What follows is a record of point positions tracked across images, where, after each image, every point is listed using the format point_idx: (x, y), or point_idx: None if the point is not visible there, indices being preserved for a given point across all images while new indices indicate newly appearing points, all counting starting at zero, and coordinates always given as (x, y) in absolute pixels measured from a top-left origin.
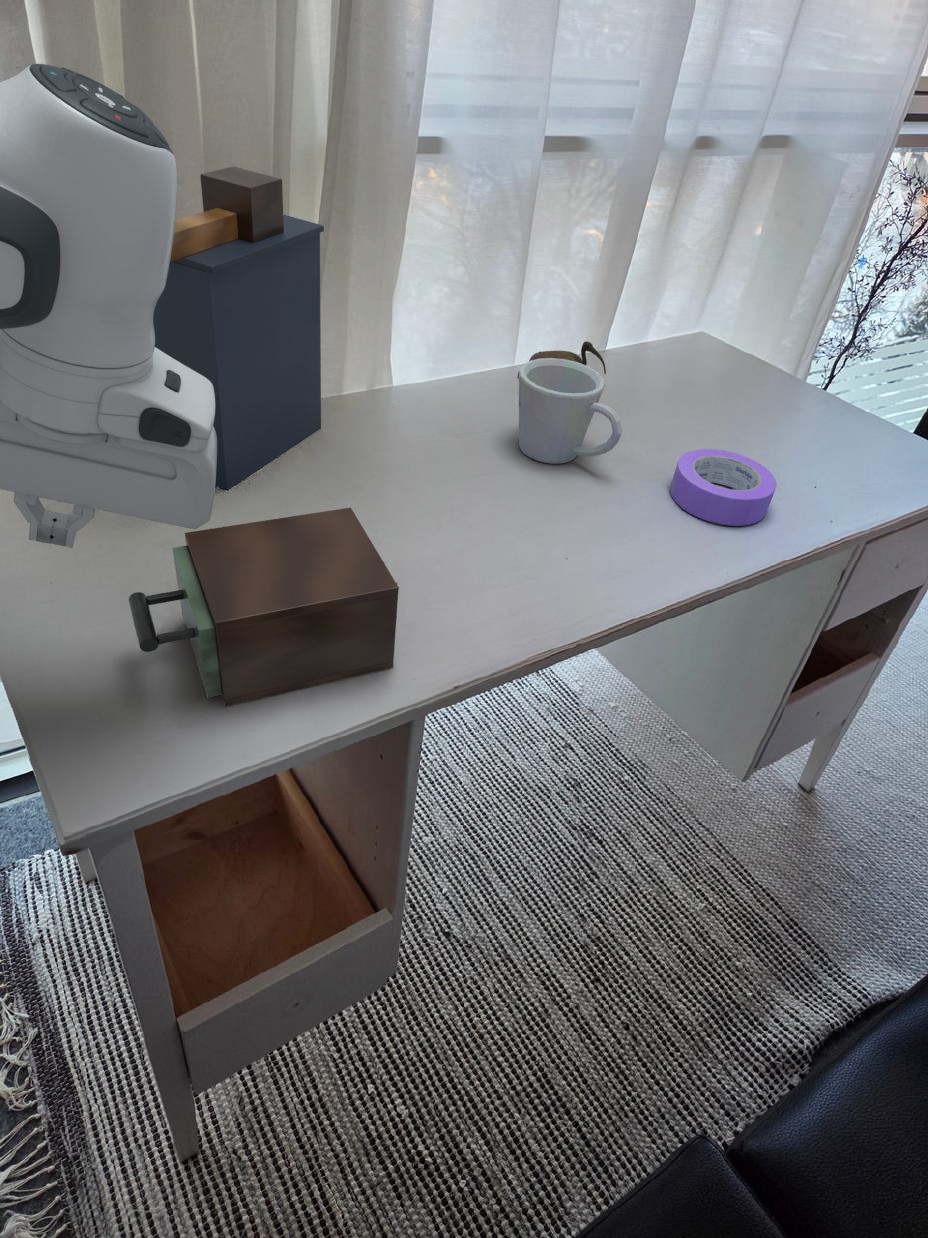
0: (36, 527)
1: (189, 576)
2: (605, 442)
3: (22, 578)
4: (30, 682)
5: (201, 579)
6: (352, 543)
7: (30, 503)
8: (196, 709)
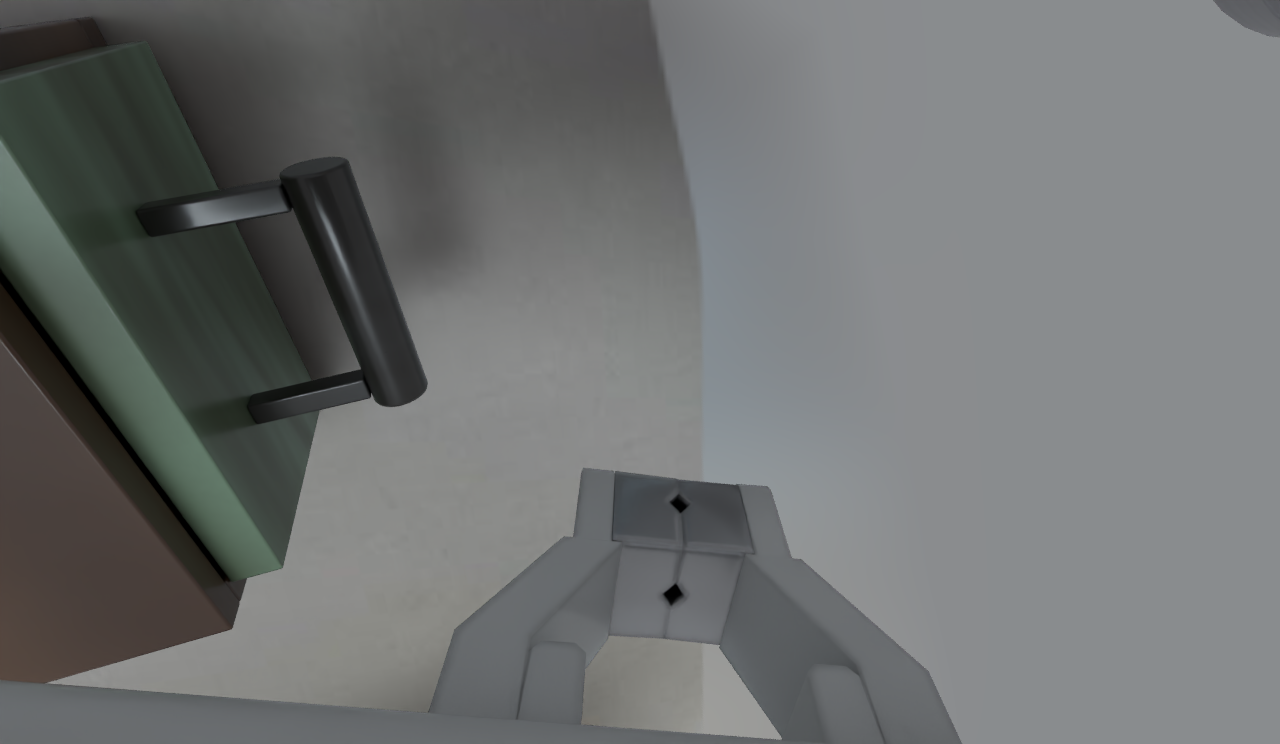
0: (757, 538)
1: (164, 442)
2: None
3: None
4: (663, 210)
5: (51, 406)
6: None
7: (839, 674)
8: (200, 28)
